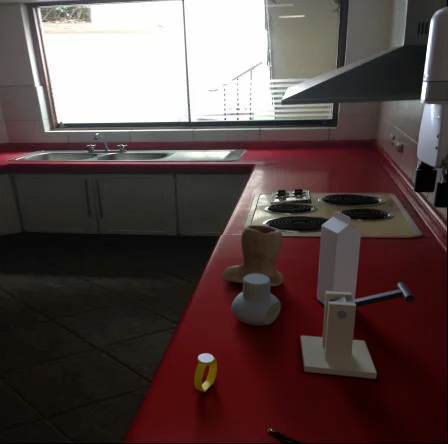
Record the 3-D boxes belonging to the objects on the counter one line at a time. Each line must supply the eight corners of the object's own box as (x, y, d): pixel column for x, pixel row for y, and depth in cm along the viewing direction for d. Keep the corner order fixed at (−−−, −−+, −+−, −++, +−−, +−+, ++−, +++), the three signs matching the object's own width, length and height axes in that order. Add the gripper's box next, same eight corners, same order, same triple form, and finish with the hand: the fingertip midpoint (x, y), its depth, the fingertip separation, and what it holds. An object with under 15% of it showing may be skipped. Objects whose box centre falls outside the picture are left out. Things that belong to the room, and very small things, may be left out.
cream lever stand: (364, 345, 82) (370, 287, 78) (376, 378, 73) (384, 314, 69) (300, 340, 85) (303, 283, 81) (304, 371, 76) (307, 309, 72)
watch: (205, 399, 71) (204, 370, 69) (190, 394, 72) (189, 365, 70) (221, 379, 75) (220, 351, 73) (207, 374, 77) (206, 346, 75)
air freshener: (260, 336, 87) (260, 293, 84) (226, 323, 93) (226, 282, 90) (284, 314, 95) (286, 274, 92) (252, 303, 100) (253, 265, 97)
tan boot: (285, 273, 115) (287, 222, 110) (280, 293, 105) (282, 237, 100) (231, 268, 121) (230, 218, 116) (221, 286, 110) (220, 232, 106)
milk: (338, 295, 102) (345, 208, 95) (354, 307, 96) (363, 215, 90) (315, 299, 101) (322, 211, 94) (331, 311, 95) (338, 219, 89)
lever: (407, 290, 74) (403, 278, 74) (416, 304, 70) (412, 291, 69) (331, 307, 79) (328, 296, 78) (335, 321, 74) (331, 309, 74)
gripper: (506, 93, 56) (483, 214, 61) (453, 90, 72) (439, 187, 77) (443, 96, 58) (426, 213, 63) (405, 93, 74) (394, 187, 79)
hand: (433, 199), depth 70 cm, fingers open, 9 cm apart
